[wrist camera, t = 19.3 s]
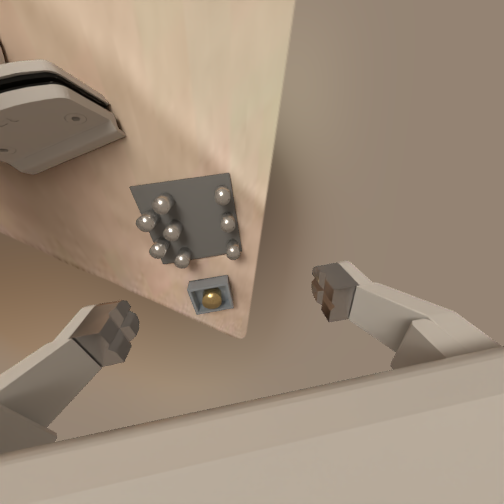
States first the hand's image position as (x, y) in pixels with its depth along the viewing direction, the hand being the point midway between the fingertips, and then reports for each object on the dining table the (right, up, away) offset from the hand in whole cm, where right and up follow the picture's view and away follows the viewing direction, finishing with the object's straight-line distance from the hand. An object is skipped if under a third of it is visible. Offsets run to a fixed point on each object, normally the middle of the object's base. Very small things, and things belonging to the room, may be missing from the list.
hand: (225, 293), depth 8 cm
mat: (-10, +8, +28) cm, 31 cm away
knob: (-8, -8, +37) cm, 39 cm away
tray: (-9, -8, +37) cm, 39 cm away
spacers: (-10, +8, +28) cm, 31 cm away
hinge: (-27, +20, +19) cm, 38 cm away
